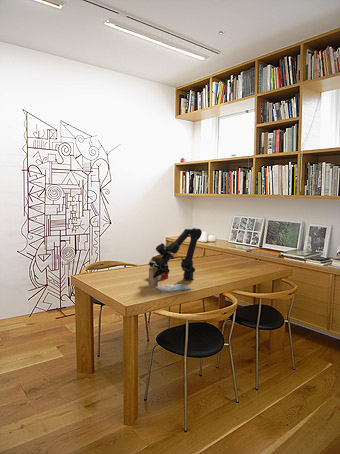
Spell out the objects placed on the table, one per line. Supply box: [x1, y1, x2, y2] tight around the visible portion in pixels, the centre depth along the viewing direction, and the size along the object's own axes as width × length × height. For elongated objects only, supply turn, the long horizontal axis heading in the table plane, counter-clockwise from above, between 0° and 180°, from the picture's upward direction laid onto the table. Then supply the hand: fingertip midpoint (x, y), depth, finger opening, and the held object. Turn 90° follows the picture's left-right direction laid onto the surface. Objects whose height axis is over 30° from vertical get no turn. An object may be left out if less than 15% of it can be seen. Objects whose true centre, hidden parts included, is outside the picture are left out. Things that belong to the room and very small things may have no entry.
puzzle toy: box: [158, 264, 169, 281], centre depth 257 cm, size 10×10×10 cm
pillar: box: [148, 266, 159, 288], centre depth 232 cm, size 4×4×13 cm
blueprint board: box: [154, 283, 192, 294], centre depth 227 cm, size 21×12×2 cm, turn 117°
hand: (151, 277), depth 231 cm, fingers closed on pillar, 4 cm apart
